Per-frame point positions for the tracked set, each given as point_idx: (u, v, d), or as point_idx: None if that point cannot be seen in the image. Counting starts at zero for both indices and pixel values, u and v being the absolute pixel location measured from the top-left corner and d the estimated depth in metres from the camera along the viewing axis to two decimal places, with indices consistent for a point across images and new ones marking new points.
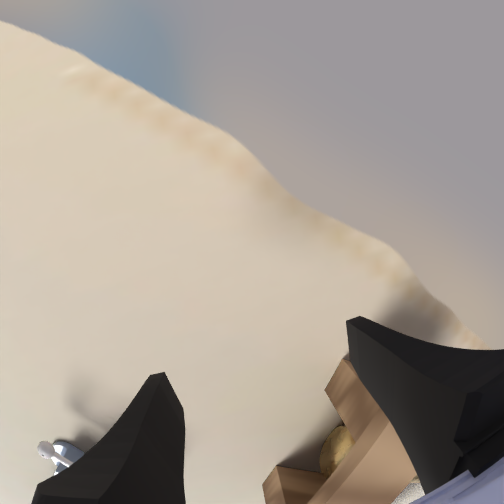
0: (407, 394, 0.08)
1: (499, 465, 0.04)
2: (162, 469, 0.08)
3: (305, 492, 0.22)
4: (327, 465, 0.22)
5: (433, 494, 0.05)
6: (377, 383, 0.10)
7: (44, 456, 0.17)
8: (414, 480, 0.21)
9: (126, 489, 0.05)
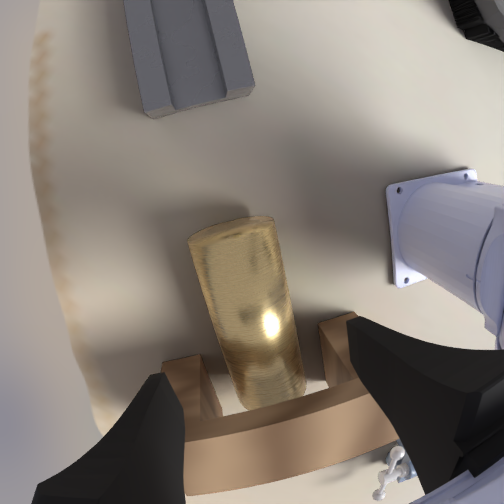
0: (407, 394, 0.08)
1: (499, 465, 0.04)
2: (162, 469, 0.08)
3: (336, 385, 0.22)
4: None
5: (433, 494, 0.05)
6: (377, 383, 0.10)
7: (381, 498, 0.27)
8: (262, 288, 0.17)
9: (126, 489, 0.05)
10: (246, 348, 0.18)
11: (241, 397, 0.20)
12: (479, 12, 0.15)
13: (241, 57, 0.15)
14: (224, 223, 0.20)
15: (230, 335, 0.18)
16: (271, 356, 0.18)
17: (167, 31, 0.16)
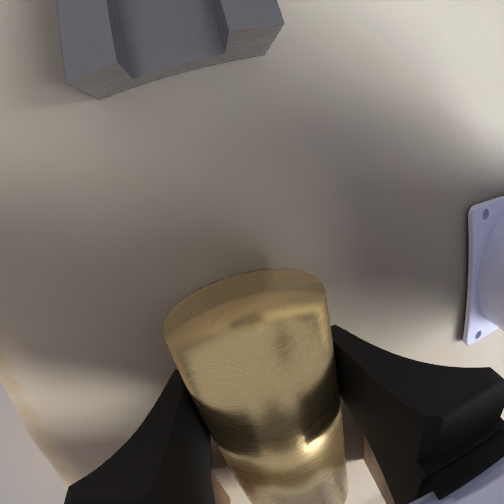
0: (375, 408, 0.08)
1: (499, 465, 0.04)
2: (193, 465, 0.08)
3: (384, 478, 0.13)
4: None
5: (433, 494, 0.05)
6: (350, 394, 0.10)
7: None
8: (306, 415, 0.08)
9: (166, 486, 0.05)
10: (273, 484, 0.09)
11: None
12: None
13: None
14: (227, 282, 0.12)
15: (247, 470, 0.09)
16: (310, 487, 0.10)
17: None
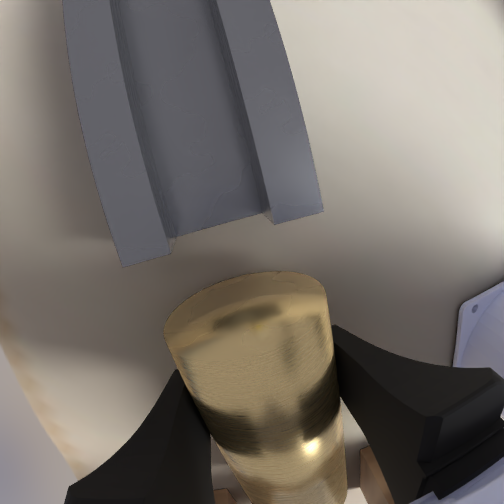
0: (375, 408, 0.08)
1: (499, 465, 0.04)
2: (194, 465, 0.08)
3: None
4: None
5: (433, 494, 0.05)
6: (350, 394, 0.10)
7: None
8: (307, 417, 0.08)
9: (166, 486, 0.05)
10: (274, 485, 0.09)
11: None
12: None
13: (299, 153, 0.09)
14: (228, 284, 0.12)
15: (248, 471, 0.09)
16: (311, 487, 0.10)
17: (152, 83, 0.09)
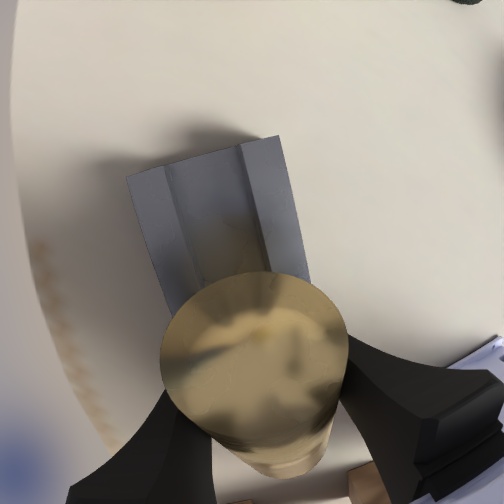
0: (372, 410, 0.08)
1: (499, 465, 0.04)
2: (195, 464, 0.08)
3: None
4: None
5: (433, 494, 0.05)
6: (347, 395, 0.10)
7: None
8: (321, 430, 0.09)
9: (168, 486, 0.05)
10: (281, 467, 0.11)
11: (257, 470, 0.14)
12: None
13: None
14: (215, 294, 0.10)
15: (258, 464, 0.10)
16: (311, 458, 0.12)
17: (215, 280, 0.15)
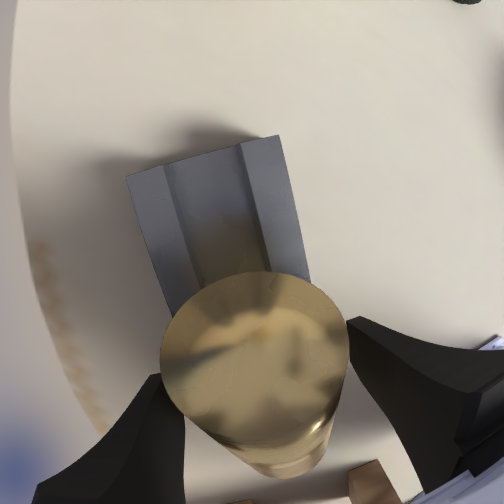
0: (407, 394, 0.08)
1: (499, 465, 0.04)
2: (162, 469, 0.08)
3: None
4: None
5: (433, 494, 0.05)
6: (377, 383, 0.10)
7: None
8: (322, 430, 0.09)
9: (126, 489, 0.05)
10: (282, 467, 0.11)
11: None
12: None
13: None
14: (215, 294, 0.09)
15: (259, 464, 0.10)
16: (311, 459, 0.11)
17: (215, 280, 0.15)
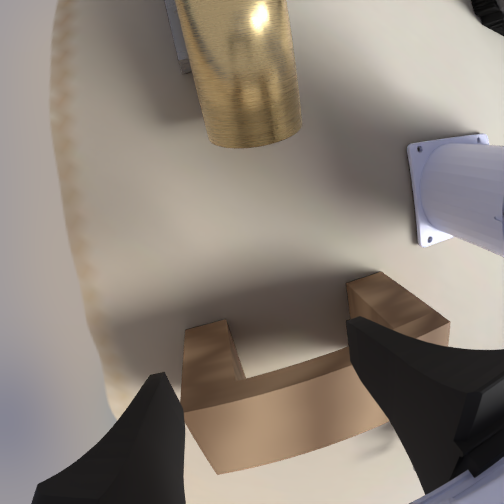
0: (407, 394, 0.08)
1: (499, 465, 0.04)
2: (162, 469, 0.08)
3: None
4: None
5: (433, 494, 0.05)
6: (377, 383, 0.10)
7: None
8: None
9: (126, 489, 0.05)
10: (238, 28, 0.11)
11: (221, 127, 0.14)
12: (495, 1, 0.15)
13: None
14: None
15: (215, 12, 0.10)
16: (271, 43, 0.11)
17: None
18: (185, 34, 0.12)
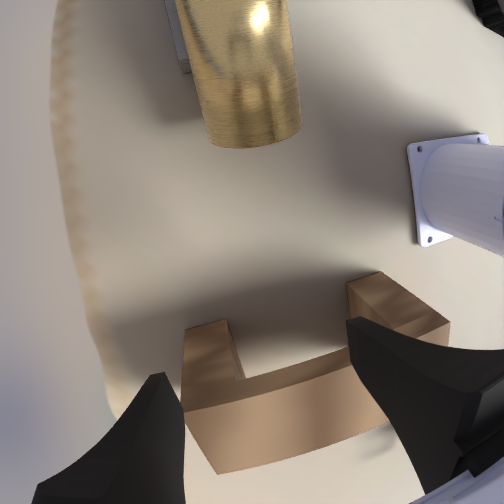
0: (407, 394, 0.08)
1: (499, 465, 0.04)
2: (162, 469, 0.08)
3: None
4: None
5: (433, 494, 0.05)
6: (377, 383, 0.10)
7: None
8: None
9: (126, 489, 0.05)
10: (238, 28, 0.11)
11: (221, 127, 0.14)
12: (497, 2, 0.15)
13: None
14: None
15: (215, 12, 0.10)
16: (271, 43, 0.11)
17: None
18: (185, 34, 0.12)
